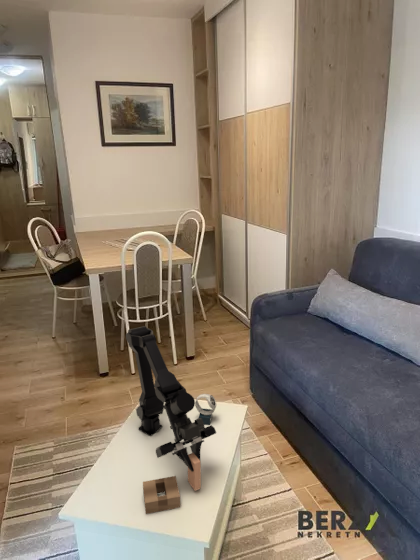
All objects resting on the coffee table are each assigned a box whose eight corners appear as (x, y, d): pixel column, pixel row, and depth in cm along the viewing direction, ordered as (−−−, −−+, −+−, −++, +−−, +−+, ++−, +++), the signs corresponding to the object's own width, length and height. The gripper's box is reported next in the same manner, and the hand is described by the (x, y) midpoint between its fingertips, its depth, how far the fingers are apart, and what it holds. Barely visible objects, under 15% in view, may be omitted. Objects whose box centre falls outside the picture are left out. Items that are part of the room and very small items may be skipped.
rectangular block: (187, 481, 127) (187, 454, 123) (193, 478, 128) (193, 452, 124) (195, 490, 123) (194, 464, 120) (200, 488, 124) (200, 461, 121)
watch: (215, 425, 154) (215, 400, 150) (194, 423, 155) (193, 398, 152) (217, 416, 159) (217, 392, 156) (197, 414, 160) (196, 390, 157)
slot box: (143, 492, 124) (142, 481, 123) (175, 486, 126) (175, 475, 125) (145, 514, 117) (145, 503, 116) (180, 507, 119) (180, 496, 118)
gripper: (158, 423, 117) (177, 480, 111) (213, 403, 126) (233, 454, 120) (148, 431, 125) (165, 483, 120) (200, 411, 135) (218, 459, 129)
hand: (196, 469), depth 122 cm, fingers closed on rectangular block, 2 cm apart
